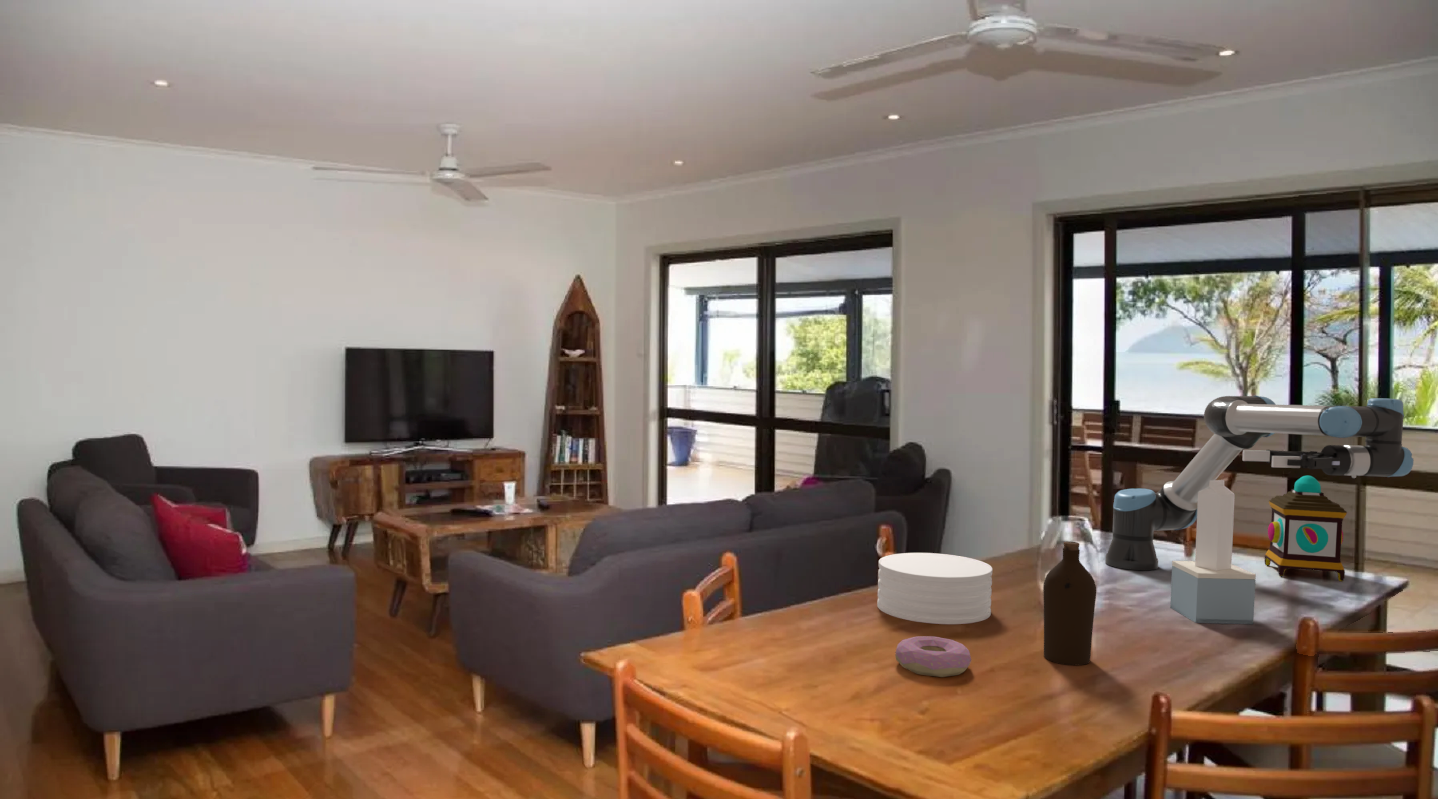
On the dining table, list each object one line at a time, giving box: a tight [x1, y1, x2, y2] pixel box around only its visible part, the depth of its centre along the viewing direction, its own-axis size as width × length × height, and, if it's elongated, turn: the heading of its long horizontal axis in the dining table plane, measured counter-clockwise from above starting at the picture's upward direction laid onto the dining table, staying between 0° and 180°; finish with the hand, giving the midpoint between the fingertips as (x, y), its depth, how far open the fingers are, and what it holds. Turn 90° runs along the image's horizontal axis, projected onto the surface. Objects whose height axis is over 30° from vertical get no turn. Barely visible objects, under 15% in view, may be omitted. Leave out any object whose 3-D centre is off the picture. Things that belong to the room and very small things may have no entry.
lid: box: [1171, 560, 1257, 580], centre depth 248 cm, size 14×14×1 cm
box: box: [1169, 565, 1257, 625], centre depth 248 cm, size 14×14×11 cm
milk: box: [1194, 479, 1236, 571], centre depth 247 cm, size 6×6×22 cm
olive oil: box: [1042, 540, 1097, 666], centre depth 210 cm, size 11×11×25 cm
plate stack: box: [876, 552, 993, 625], centre depth 249 cm, size 28×28×12 cm
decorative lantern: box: [1264, 475, 1348, 582], centre depth 299 cm, size 20×20×30 cm
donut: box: [894, 635, 972, 678], centre depth 203 cm, size 16×15×5 cm
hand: (1257, 458), depth 246 cm, fingers open, 13 cm apart
